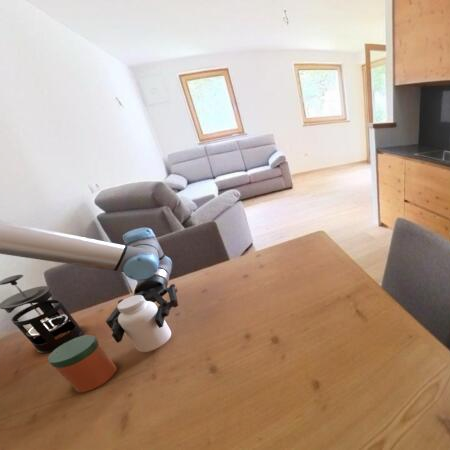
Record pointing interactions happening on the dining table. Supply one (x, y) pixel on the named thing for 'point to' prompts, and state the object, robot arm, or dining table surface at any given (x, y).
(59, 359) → the jar lid
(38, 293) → the french press
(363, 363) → the dining table surface
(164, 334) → the pill bottle
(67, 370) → the jar
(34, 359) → the dining table surface
